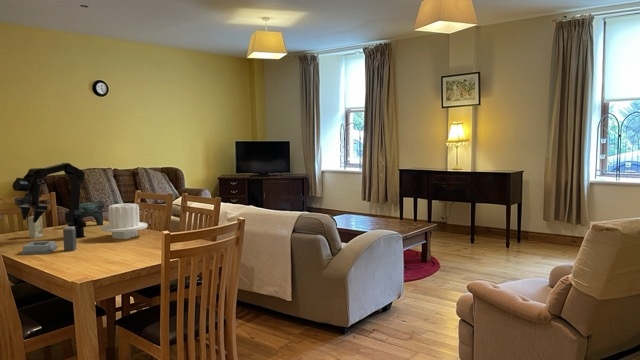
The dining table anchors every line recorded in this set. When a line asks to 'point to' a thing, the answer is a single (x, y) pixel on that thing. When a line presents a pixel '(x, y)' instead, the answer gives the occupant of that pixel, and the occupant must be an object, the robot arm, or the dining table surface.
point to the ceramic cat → (93, 210)
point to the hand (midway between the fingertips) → (29, 221)
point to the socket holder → (39, 248)
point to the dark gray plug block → (69, 238)
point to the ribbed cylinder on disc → (123, 221)
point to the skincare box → (35, 227)
